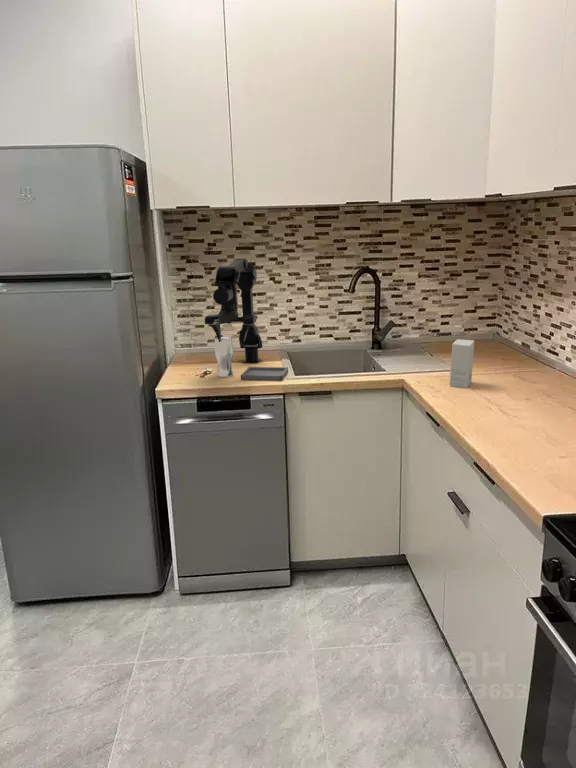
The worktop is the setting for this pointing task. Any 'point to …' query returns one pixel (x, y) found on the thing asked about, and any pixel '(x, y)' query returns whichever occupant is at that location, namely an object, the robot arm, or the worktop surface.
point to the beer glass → (224, 356)
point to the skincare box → (461, 363)
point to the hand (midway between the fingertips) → (231, 341)
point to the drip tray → (264, 373)
